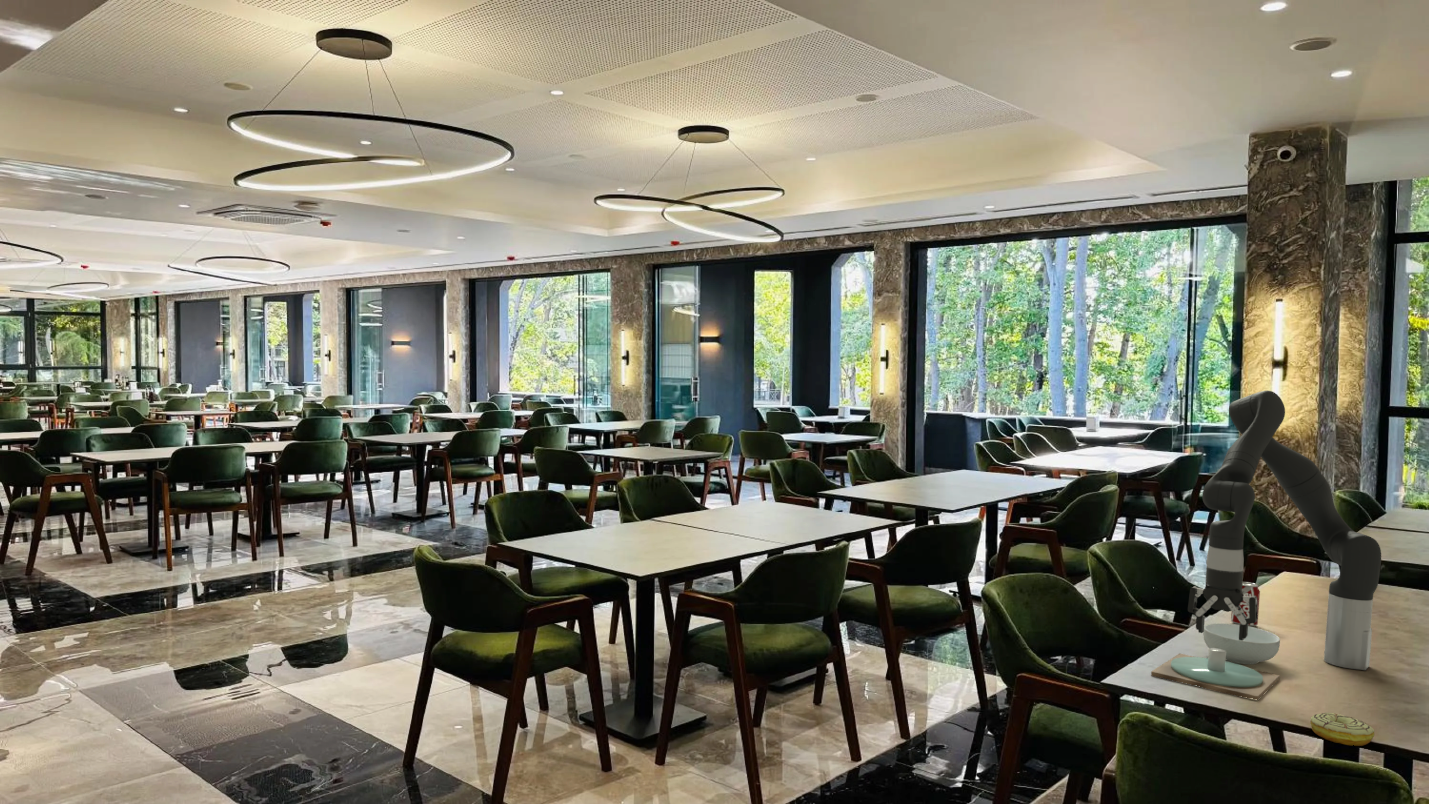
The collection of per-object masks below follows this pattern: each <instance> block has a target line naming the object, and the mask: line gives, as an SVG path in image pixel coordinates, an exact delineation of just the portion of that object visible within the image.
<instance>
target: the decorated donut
mask: <svg viewBox="0 0 1429 804" xmlns="http://www.w3.org/2000/svg"><path fill="white" fill-rule="evenodd" d="M1310 726H1311V727H1310V728H1311V730H1312V731H1313V733H1315V734H1316V735H1317V736H1319V738H1320V737H1321V738H1323V739H1324V740H1326V741H1330V742H1333V743H1337V744H1341V745H1346V746H1353V745H1354V746H1355V747H1360V746H1361V747H1362V746H1363V747H1364V746H1367V745H1368V744H1369V743H1371V742H1372V740H1373V738H1374V737H1375V729H1374V728H1373V727H1372V726H1371V725H1369V724H1367V723H1366V722H1363V721H1362V720H1360V719H1357V718H1355V717H1352V716H1347V715H1343V714H1340V713H1336V712H1334V713H1333V712H1321V713H1317V714H1313V715H1312V716H1311V717H1310Z"/></svg>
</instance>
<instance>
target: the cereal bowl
mask: <svg viewBox="0 0 1429 804" xmlns="http://www.w3.org/2000/svg"><path fill="white" fill-rule="evenodd" d="M1239 626H1240V625H1236V624H1234V623H1222V622H1221V623H1216V622H1215V623H1214V622H1213V623H1209V624H1204V632H1203V633H1202V635H1203V640H1204V643H1205V645H1206V646H1207V647H1208V649H1209V648H1217V649H1222V650H1225V651H1226V661H1227V662H1231V661H1232V663H1235V664H1239V665H1257V664H1258V663H1261V662H1266V661H1269V660H1271V659H1272V658H1274V657H1275V656H1276V655H1277V654H1278V653H1279V649H1280V644H1281V639H1280V637H1279V636H1278V635H1277V634H1275V633H1273V632H1271V631H1267V630H1265V629H1261V628H1258V627H1255V626H1254V627H1249V626H1248V635H1247V637H1246V638H1244V640H1243V641H1242V640H1239Z"/></svg>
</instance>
